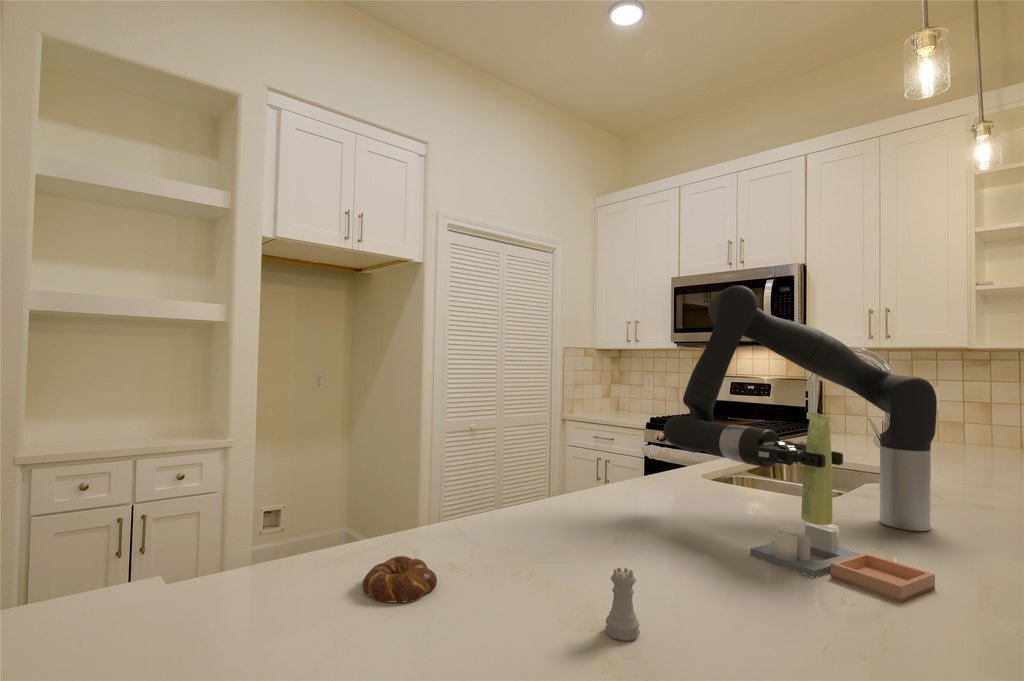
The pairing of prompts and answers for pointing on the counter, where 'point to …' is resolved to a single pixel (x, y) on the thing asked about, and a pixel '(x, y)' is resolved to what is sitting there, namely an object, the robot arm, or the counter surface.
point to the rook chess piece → (622, 608)
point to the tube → (818, 474)
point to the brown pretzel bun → (399, 580)
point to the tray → (883, 577)
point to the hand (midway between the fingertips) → (832, 460)
